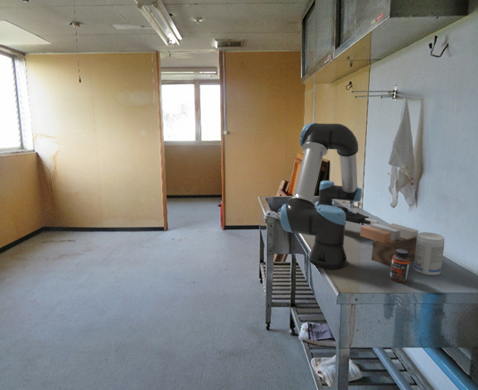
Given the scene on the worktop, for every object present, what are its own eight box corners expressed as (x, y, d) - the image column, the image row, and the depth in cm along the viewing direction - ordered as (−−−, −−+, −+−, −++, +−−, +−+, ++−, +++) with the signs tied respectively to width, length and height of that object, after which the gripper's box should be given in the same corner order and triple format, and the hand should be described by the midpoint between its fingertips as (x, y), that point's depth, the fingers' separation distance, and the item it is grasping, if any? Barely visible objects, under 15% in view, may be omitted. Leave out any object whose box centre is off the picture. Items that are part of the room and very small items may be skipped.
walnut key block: (371, 259, 147) (373, 236, 145) (400, 250, 159) (402, 228, 156) (393, 268, 139) (396, 243, 137) (422, 258, 150) (425, 235, 148)
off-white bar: (386, 233, 157) (387, 224, 156) (392, 231, 159) (393, 223, 159) (412, 240, 147) (413, 231, 147) (417, 239, 150) (418, 230, 149)
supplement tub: (440, 269, 139) (445, 234, 136) (440, 278, 130) (446, 241, 127) (413, 264, 143) (417, 230, 140) (412, 272, 135) (417, 236, 132)
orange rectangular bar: (359, 235, 153) (360, 226, 152) (365, 234, 155) (366, 225, 154) (383, 243, 143) (384, 234, 142) (389, 241, 145) (390, 232, 144)
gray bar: (369, 233, 157) (370, 224, 156) (375, 231, 159) (376, 223, 158) (394, 240, 147) (395, 231, 146) (399, 239, 149) (400, 230, 148)
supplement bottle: (388, 280, 128) (391, 251, 125) (391, 274, 133) (394, 246, 130) (406, 284, 125) (410, 255, 122) (408, 278, 130) (411, 250, 127)
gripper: (346, 218, 187) (384, 229, 168) (329, 221, 180) (367, 233, 161) (347, 204, 186) (386, 214, 166) (330, 207, 179) (369, 218, 159)
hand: (377, 224), depth 163 cm, fingers closed
